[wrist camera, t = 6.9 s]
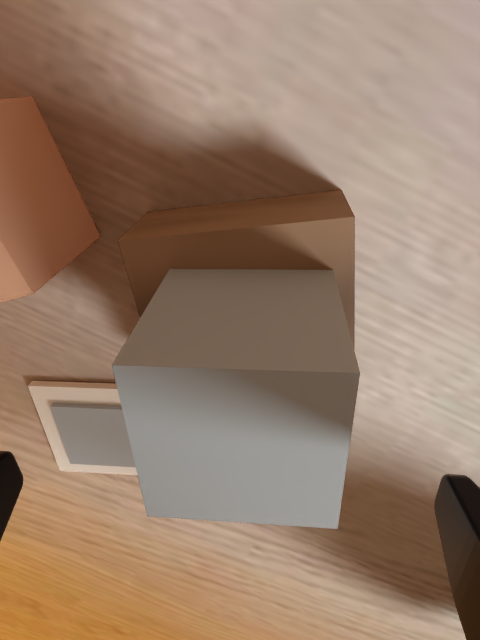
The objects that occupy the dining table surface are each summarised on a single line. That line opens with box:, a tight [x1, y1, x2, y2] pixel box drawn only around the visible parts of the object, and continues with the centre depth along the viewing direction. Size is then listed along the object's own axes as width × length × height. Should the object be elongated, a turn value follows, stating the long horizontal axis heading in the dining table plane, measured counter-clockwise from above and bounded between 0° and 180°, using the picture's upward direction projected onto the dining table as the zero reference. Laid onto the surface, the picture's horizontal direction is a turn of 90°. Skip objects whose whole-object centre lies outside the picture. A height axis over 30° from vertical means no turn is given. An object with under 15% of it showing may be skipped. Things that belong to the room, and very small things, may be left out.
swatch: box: [28, 381, 137, 475], centre depth 21 cm, size 6×6×1 cm
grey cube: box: [112, 269, 360, 529], centre depth 12 cm, size 5×5×5 cm
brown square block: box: [118, 190, 355, 348], centre depth 15 cm, size 7×7×4 cm
